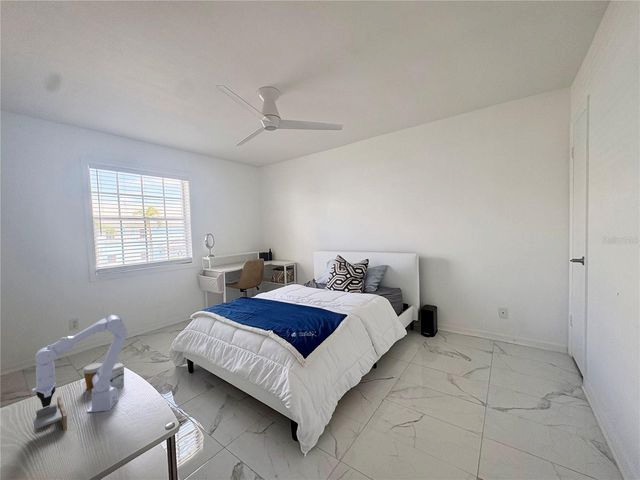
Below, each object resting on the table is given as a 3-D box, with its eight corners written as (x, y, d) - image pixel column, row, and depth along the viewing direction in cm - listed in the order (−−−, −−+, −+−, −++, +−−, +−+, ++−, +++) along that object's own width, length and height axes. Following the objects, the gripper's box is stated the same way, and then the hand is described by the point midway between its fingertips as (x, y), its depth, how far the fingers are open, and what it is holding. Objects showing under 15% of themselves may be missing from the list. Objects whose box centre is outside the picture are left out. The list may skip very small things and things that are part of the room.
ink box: (105, 393, 138) (104, 371, 138) (102, 389, 141) (102, 368, 141) (124, 385, 145) (124, 364, 144) (121, 382, 148) (121, 362, 147)
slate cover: (32, 420, 111) (32, 411, 111) (59, 410, 117) (59, 401, 117) (34, 429, 106) (34, 420, 106) (61, 418, 112) (61, 409, 112)
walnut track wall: (57, 409, 125) (57, 397, 125) (60, 408, 126) (60, 396, 125) (63, 430, 112) (63, 416, 112) (66, 428, 113) (66, 415, 113)
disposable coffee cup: (109, 384, 146) (109, 363, 145) (88, 393, 137) (88, 371, 137) (99, 380, 150) (99, 359, 149) (79, 389, 141) (78, 367, 141)
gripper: (30, 373, 115) (31, 403, 116) (33, 386, 106) (34, 418, 106) (53, 367, 121) (54, 395, 121) (57, 378, 111) (58, 409, 112)
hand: (46, 405), depth 114 cm, fingers closed
